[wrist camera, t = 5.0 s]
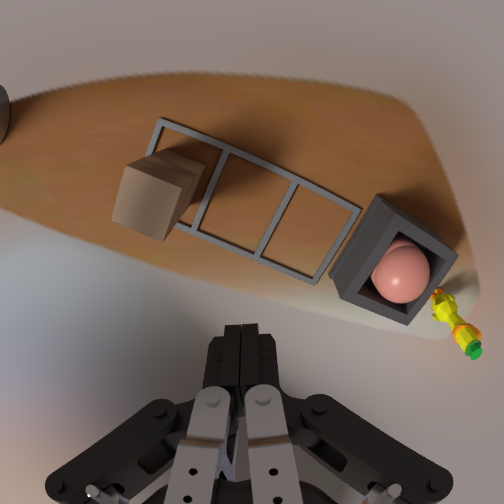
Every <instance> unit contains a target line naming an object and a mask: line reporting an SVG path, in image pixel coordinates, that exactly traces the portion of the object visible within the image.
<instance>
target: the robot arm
mask: <svg viewBox="0 0 504 504" xmlns="http://www.w3.org/2000/svg"><path fill="white" fill-rule="evenodd" d="M9 118H10V104H9V98H8V95H7V93H6V90H5V89H4V88H3V87H2V86H1V85H0V144H1V142H2V140H3V139H4V137H5V134H6V132H7V128H8V124H9ZM245 413H246V419H247V431H248V453H249V463H250V474H251V479H250V480H245V481H241V482H235V472H234V466H235V457H236V449H237V441H238V427H239V417H244V416H245ZM292 444H294V445H299V446H300V447H301V448H302V449H303V450H304V451H305V452H306V453H308V454H309V455H310V456H311V457H313V458H314V459H315V460H316V461H318V462H319V463H320V464H321V465H323V466H324V467H325V468H327V469H328V470H329V471H330V472H332V473H333V474H335V475H336V476H337V477H338V478H340V479H341V480H343V481H344V482H345V483H347V484H348V485H349V486H351V487H352V488H354V489H355V490H357V491H358V492H359V493H361V494H362V495H364V496H365V497H364V498H363V500H362V503H361V504H436V503H438V502H439V501H441V500H442V499H444V498H445V497H446V496H448V494H449V493H450V491H451V490H452V487H453V477H452V475H451V473H449V471H448V470H446V469H445V468H442V467H441V466H439V465H437V464H435V463H434V462H432V461H430V460H429V459H427V458H425V457H423V456H422V455H420V454H418V453H417V452H415V451H413V450H412V449H410V448H408V447H407V446H405V445H403V444H402V443H400V442H398V441H397V440H395V439H394V438H392V437H390V436H389V435H387V434H385V433H384V432H382V431H381V430H379V429H378V428H376V427H375V426H373V425H372V424H370V423H369V422H367V421H366V420H364V419H362V418H361V417H360V416H358V415H357V414H355V413H354V412H352V411H350V410H349V409H347V408H346V407H345V406H343V405H342V404H340V403H339V402H337V401H336V400H334V399H333V398H332V397H330V396H327V395H324V394H316V395H312V396H309V397H308V398H306V399H305V400H304V399H297V398H293V397H290V396H288V395H286V394H285V393H284V392H283V391H282V390H281V388H280V385H279V375H278V364H277V353H276V343H275V340H274V339H273V337H272V336H271V334H259V330H258V324H257V323H255V324H242V326H241V324H240V325H225V331H224V336H223V337H214V338H213V340H212V341H211V343H210V344H209V348H208V355H207V362H206V368H205V374H204V381H203V388H202V390H201V391H200V392H199V393H198V394H197V396H196V398H194V399H193V400H191V401H188V402H185V403H181V404H177V405H174V403H172V402H171V401H169V400H167V399H157V400H154V401H152V402H150V403H149V404H147V405H146V406H145V407H143V408H142V409H141V410H140V411H138V412H137V413H136V414H134V415H133V416H132V417H130V418H129V419H128V420H126V421H125V422H124V423H122V424H121V425H120V426H118V427H117V428H116V429H114V430H113V431H112V432H110V433H109V434H108V435H106V436H105V437H103V438H102V439H100V440H99V441H98V442H96V443H95V444H94V445H92V446H91V447H90V448H88V449H86V450H85V451H84V452H82V453H81V454H79V455H78V456H77V457H75V458H74V459H72V460H71V461H69V462H68V463H66V464H65V465H63V466H62V467H60V468H59V469H58V470H56V471H54V472H53V473H51V474H50V475H49V476H48V477H47V479H46V482H45V489H46V492H47V494H48V496H49V497H50V498H51V499H53V500H55V501H56V502H58V503H60V504H129V500H130V499H132V498H133V497H134V496H136V495H137V494H138V493H139V492H141V491H142V490H143V489H145V488H146V487H147V486H148V485H150V484H151V483H152V482H153V481H155V480H156V479H157V478H158V477H159V476H161V475H162V474H163V473H164V472H166V471H167V470H168V469H169V468H170V467H172V466H173V467H172V472H171V476H170V480H169V484H167V485H165V486H163V487H162V488H160V489H159V490H157V491H156V492H155V493H154V494H153V495H152V496H150V497H149V498H148V499H147V500H146V501H145V502H143V503H142V504H338V503H336V502H335V501H334V500H332V499H331V498H330V497H329V496H328V495H326V494H325V493H324V492H323V491H321V489H319V488H317V487H316V486H314V485H312V484H310V483H306V482H304V481H299V479H298V474H297V469H296V464H295V459H294V454H293V448H292Z"/></svg>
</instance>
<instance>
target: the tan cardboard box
mask: <svg viewBox="0 0 504 504" xmlns="http://www.w3.org/2000/svg"><path fill="white" fill-rule="evenodd" d="M205 166H206V165H204V164H201V163H199V162H197V161H194V160H192V159H189V158H187V157H184V156H182V155H179V154H177V153H174V152H172V151H169V150H166V149H163V150H161V151H158V152H156V153H153V154H151V155H149V156H146V157H144V158H142V159H139V160H137V161H135V162H133V163H130V164H128V165H126V166H125V170H124V173H123V176H122V180H121V183H120V187H119V191H118V194H117V198H116V202H115V206H114V210H113V214H112V218H111V220H112V221H114V222H116V223H118V224H121V225H123V226H125V227H127V228H130V229H132V230H134V231H136V232H139V233H141V234H143V235H146V236H148V237H150V238H153V239H155V240H157V241H160V242H162V243H163V242H164V240H165V239H166V237H167V236H168V235H169V233H170V232H171V230H172V229H173V228H174V226H175V225H176V223H177V222H178V221H179V219H180V218H181V216H182V215H183V214H184V212H185V211H186V210H187V208H188V207H189V206H190V203H191V201H192V198H193V196H194V193H195V191H196V188H197V186H198V183H199V181H200V178H201V176H202V173H203V171H204V169H205Z"/></svg>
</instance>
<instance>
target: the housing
mask: <svg viewBox="0 0 504 504" xmlns="http://www.w3.org/2000/svg"><path fill="white" fill-rule="evenodd" d="M397 233H399V234H403V235H405V236H407V237H408V238H409V239H410V240H411V241H412V242H413V243H414V244H415V245H416V246H417V247H418V248H419V249H420V250H421V251H422V252H423V254H424V255H425V257H426V259H427V261H428V264H429V269H430V276H429V281H428V284H427V286H426V288H425V290H424V292H423V293H422V294H421V295H420V296H419V297H418V298H416V299H415V300H413V301H410V302H407V303H394V302H391V301H389V300H387V299H385V298H384V297H383V296H382V295H381V294H380V293H379V292H378V290H377V288H376V287H375V285H374V283H373V281H372V280H371V278H370V276H369V275H370V274H371V272H372V271H373V269H374V268H375V266H376V265H377V263H378V262H379V260H380V259H381V257H382V256H383V254H384V253H385V251H386V250H387V248H388V247H389V245H390V243H391V242H392V240H393V239H394V237H395V235H396V234H397ZM442 240H443V238H442V237H440V236H439V235H438V234H436V233H435V232H434V231H432V230H431V229H429V228H428V227H426V226H425V225H423V224H422V223H420V222H419V221H417V220H416V219H414V218H413V217H411V216H410V215H408V214H407V213H405V212H403V211H402V210H400V209H399V208H397V207H396V206H394V205H392V204H391V203H389V202H388V201H386V200H384V199H383V198H381V197H379V196H378V195H375V197H374V199H373V200H372V202H371V204H370V206H369V207H368V209H367V211H366V213H365V214H364V216H363V218H362V219H361V221H360V223H359V224H358V226H357V228H356V229H355V231H354V233H353V234H352V236H351V238H350V239H349V241H348V243H347V244H346V246H345V247H344V249H343V251H342V252H341V254H340V255H339V257H338V259H337V260H336V262H335V263H334V265H333V266H332V268H331V270H330V271H329V273H328V275H329V277H330V278H331V279H333V280H334V283H335V286H336V289H337V291H338V294H339V297H340V299H342V300H345V301H347V302H350V303H352V304H354V305H357V306H359V307H362V308H364V309H367V310H369V311H372V312H374V313H377V314H379V315H382V316H384V317H386V318H389V319H391V320H394V321H396V322H399V323H401V324H404V325H406V326H408V325H409V324H410V322H411V321H412V320H413V319H414V317H415V316H416V315H417V314H418V312H419V311H420V310H421V308H422V307H423V306H424V305H425V303H426V302H427V301H428V299H429V298H430V297H431V295H432V294H433V293H434V291H435V290H436V288H437V287H438V286H439V284H440V283H441V281H442V280H443V279H444V277H445V276H446V274H447V273H448V271H449V270H450V268H451V267H452V265H453V264H454V262H455V261H456V259H457V258H458V256H459V255H458V254H457V253H456V252H455V251H453V250H452V249H451V248H450V247H449V246H448V245H447V244H446V243H445V242H443V241H442Z"/></svg>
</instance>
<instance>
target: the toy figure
mask: <svg viewBox="0 0 504 504" xmlns="http://www.w3.org/2000/svg"><path fill="white" fill-rule="evenodd" d="M434 292H435V293H436V294H437V295H436V294H434V293H433V294H432V295H431V297H430V298H431V299H432V300H433V303H432V310H433V311H434V313H435V314H432V317H433V319H434V320H435V321H437V322H438V321H444V322H448V324H449V326H450V328H451V330H452V335H453V337H454V339H455V341H456V343H457V344H459V345H460V346H461V348H462V349H463V351H464V352H465V354H466V356H470V358H471V359H472V360H475V359H477V358H478V357H479V356H480V355H481V354H482V349H481V347H480V346H481V342H480V340H481V339H482V334H481V332H480V331H479V330H478V329H477V328H475V327H474V326H473V325H471V324H469V323H466V322H465V321H464V320H463V319H462V318H461V317H460V316H459V315H458V314H457V305H456V302H455V301H454V300H455V298H454V297H453V296H452V295H451V294H444V291H443V290H442V289H441V288H436V290H435V291H434Z"/></svg>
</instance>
